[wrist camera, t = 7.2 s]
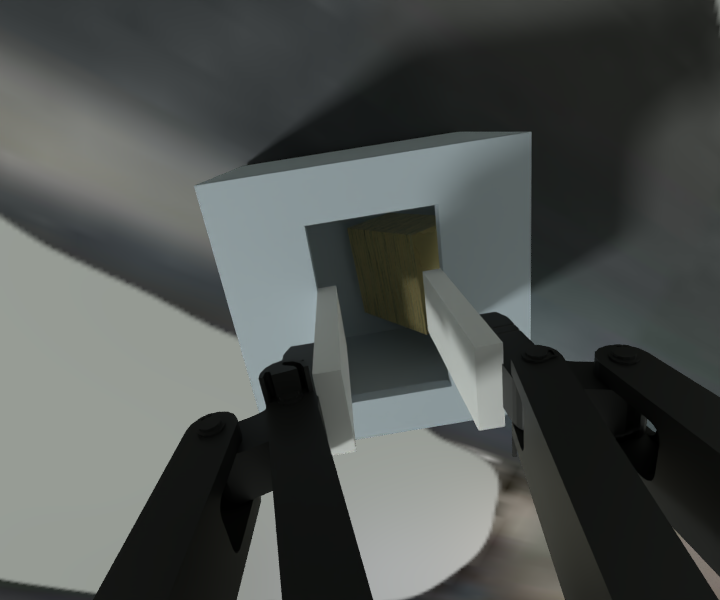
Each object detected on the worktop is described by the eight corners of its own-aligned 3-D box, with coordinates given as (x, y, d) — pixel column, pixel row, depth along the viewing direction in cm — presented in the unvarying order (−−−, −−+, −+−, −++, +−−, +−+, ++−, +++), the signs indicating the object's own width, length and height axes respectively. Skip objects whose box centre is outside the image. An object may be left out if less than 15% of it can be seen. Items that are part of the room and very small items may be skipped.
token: (346, 227, 23) (411, 235, 19) (389, 212, 24) (457, 216, 20) (364, 312, 24) (426, 334, 21) (403, 293, 26) (467, 310, 22)
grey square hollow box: (241, 166, 23) (194, 186, 15) (458, 131, 23) (531, 131, 15) (287, 356, 28) (271, 453, 19) (469, 326, 28) (530, 410, 19)
